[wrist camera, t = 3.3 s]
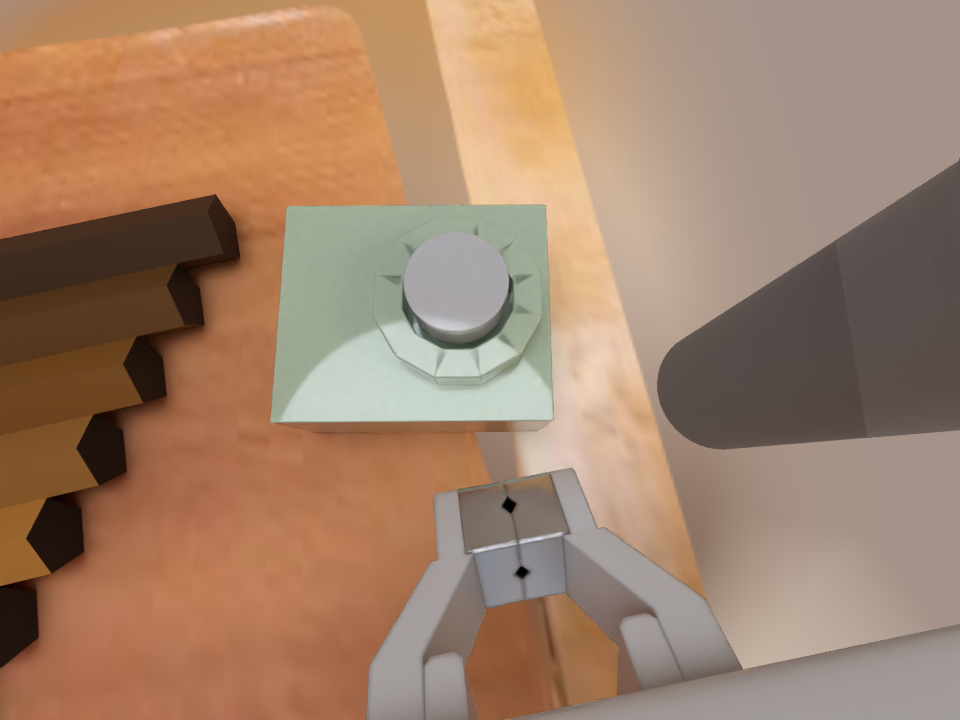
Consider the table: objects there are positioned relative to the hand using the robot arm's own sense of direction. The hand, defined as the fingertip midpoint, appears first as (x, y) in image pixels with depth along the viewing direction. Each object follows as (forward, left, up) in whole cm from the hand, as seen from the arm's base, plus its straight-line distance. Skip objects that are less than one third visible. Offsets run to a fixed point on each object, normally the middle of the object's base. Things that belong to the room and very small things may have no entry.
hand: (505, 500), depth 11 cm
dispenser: (+3, -8, -17) cm, 19 cm away
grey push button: (+1, -8, -9) cm, 12 cm away
